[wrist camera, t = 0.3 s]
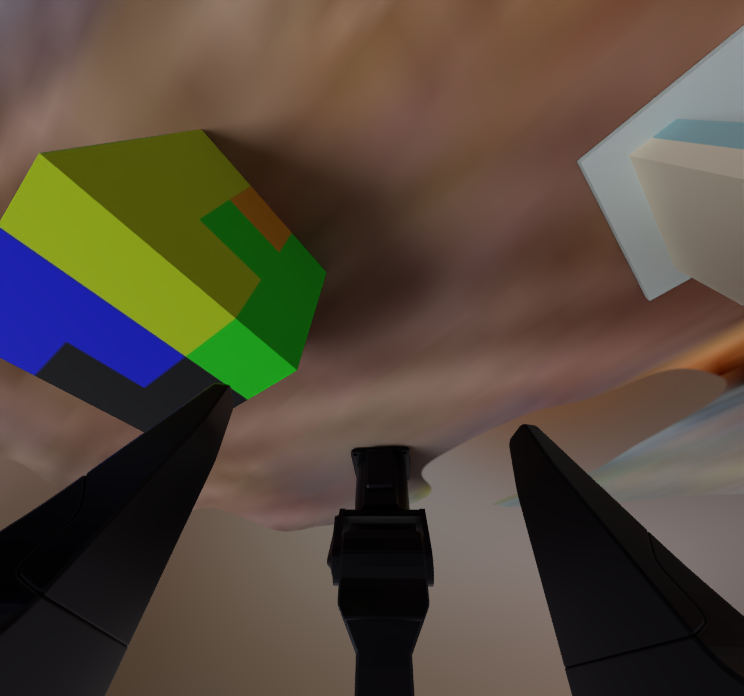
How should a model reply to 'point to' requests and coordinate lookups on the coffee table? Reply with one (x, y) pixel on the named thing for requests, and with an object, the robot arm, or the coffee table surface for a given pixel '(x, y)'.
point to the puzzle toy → (150, 277)
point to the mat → (611, 156)
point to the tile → (699, 199)
